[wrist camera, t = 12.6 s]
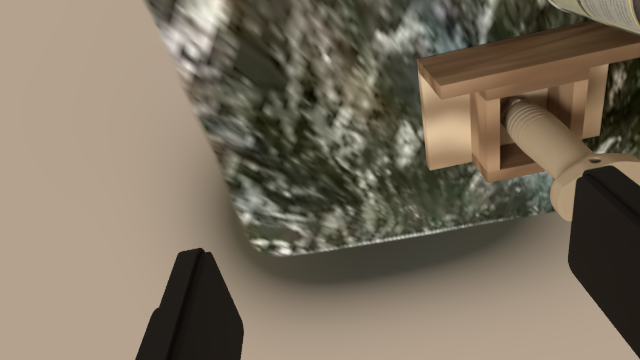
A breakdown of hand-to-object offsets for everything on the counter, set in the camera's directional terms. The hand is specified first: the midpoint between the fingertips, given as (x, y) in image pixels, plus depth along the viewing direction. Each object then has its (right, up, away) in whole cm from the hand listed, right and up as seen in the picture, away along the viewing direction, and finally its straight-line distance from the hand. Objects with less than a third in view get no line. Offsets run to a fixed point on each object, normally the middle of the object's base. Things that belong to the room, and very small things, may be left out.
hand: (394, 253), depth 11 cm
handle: (+18, +9, +33) cm, 39 cm away
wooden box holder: (+17, +10, +34) cm, 39 cm away
